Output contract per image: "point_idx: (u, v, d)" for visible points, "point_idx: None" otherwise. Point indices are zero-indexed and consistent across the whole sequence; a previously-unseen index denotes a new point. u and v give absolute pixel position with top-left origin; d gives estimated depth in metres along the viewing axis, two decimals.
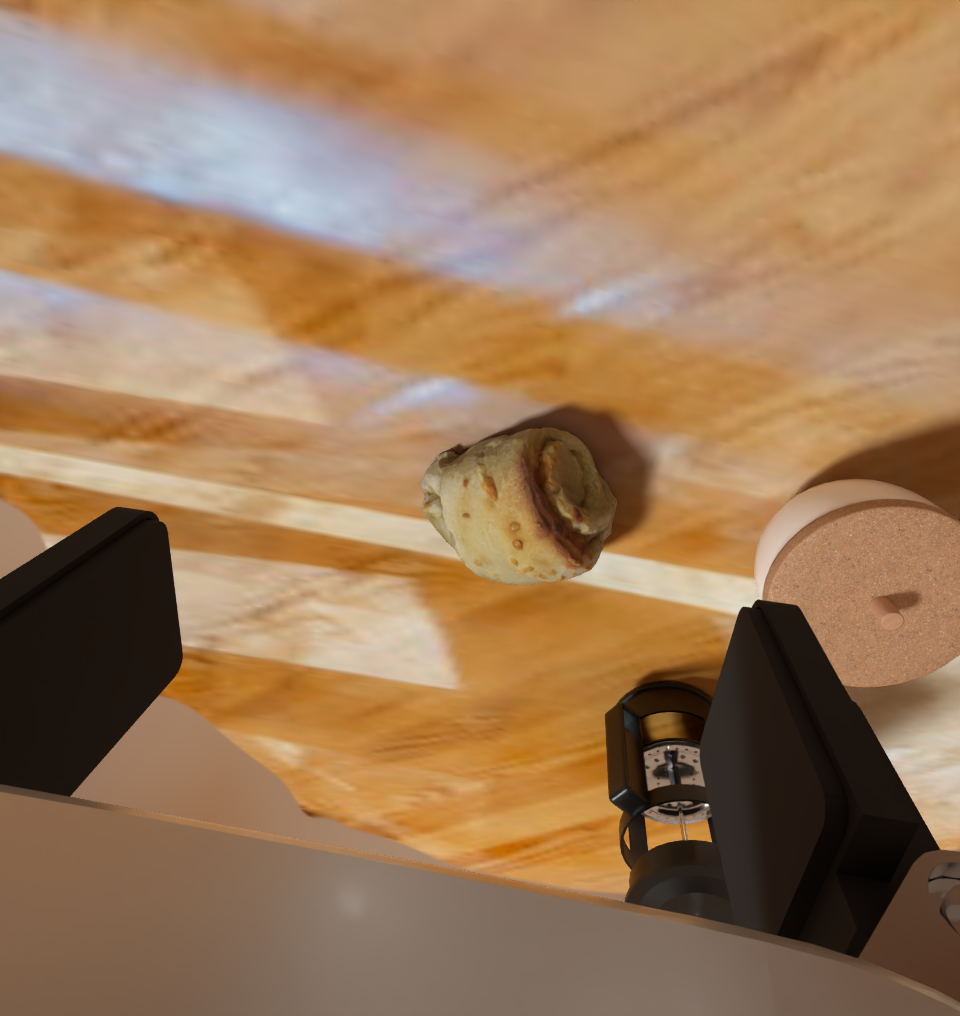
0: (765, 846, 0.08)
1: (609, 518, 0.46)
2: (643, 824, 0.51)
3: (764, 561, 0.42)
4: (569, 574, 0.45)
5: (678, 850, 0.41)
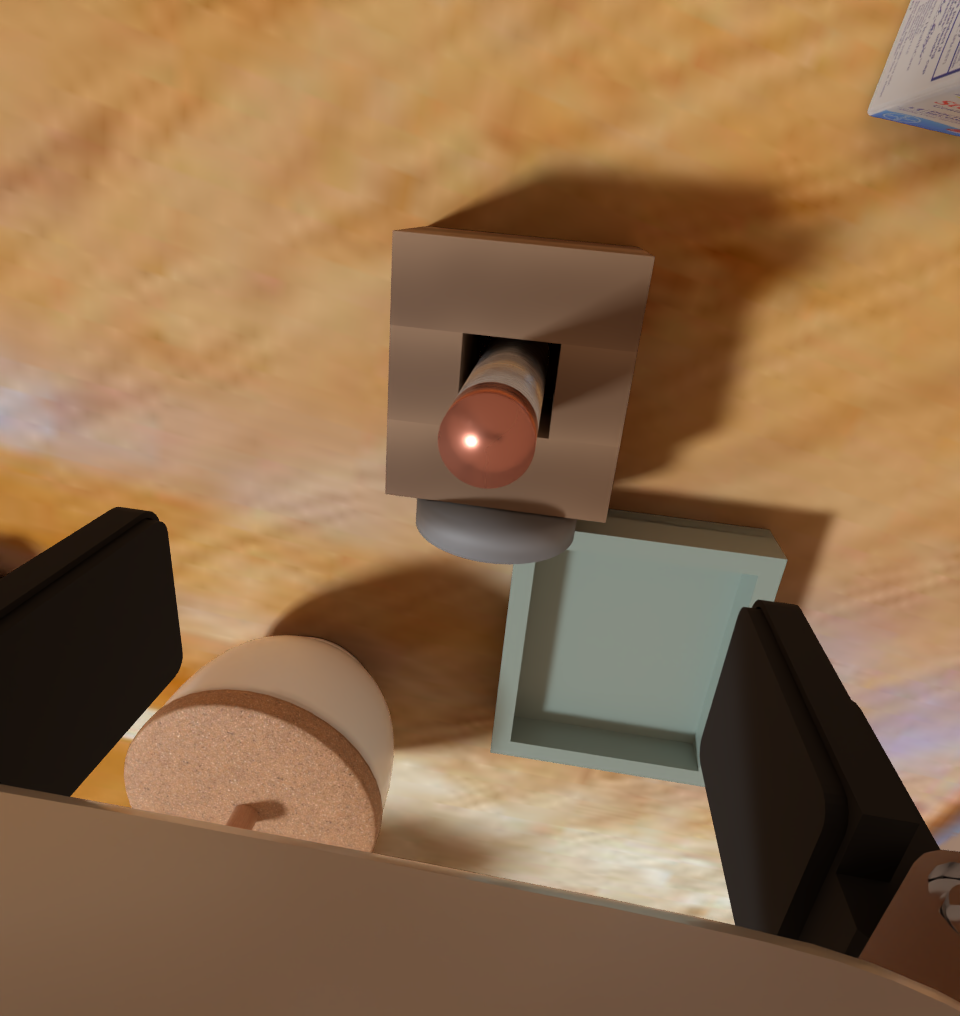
0: (764, 846, 0.08)
1: None
2: None
3: None
4: None
5: None
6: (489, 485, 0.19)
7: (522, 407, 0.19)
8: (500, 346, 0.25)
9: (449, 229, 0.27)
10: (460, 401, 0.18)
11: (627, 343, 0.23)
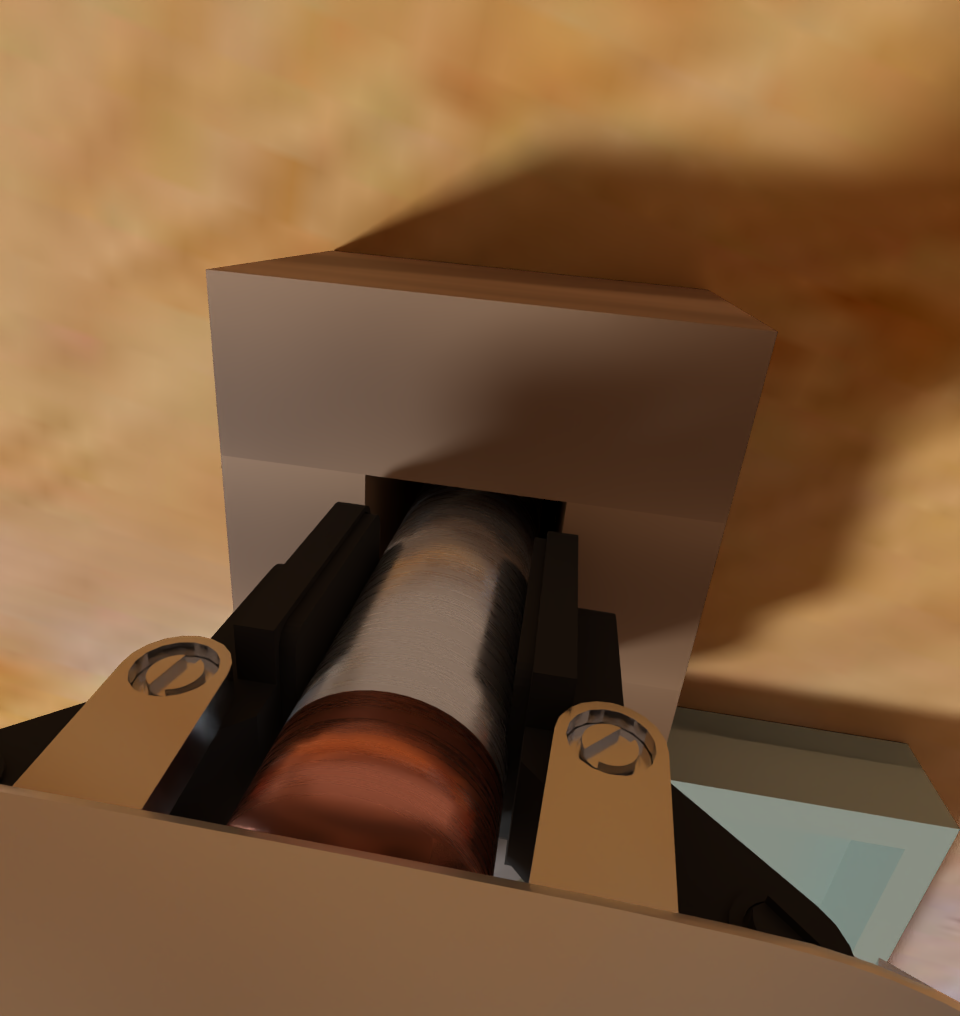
0: None
1: None
2: None
3: None
4: None
5: None
6: None
7: (447, 817, 0.06)
8: (446, 493, 0.13)
9: (366, 257, 0.15)
10: (260, 805, 0.06)
11: (706, 505, 0.11)
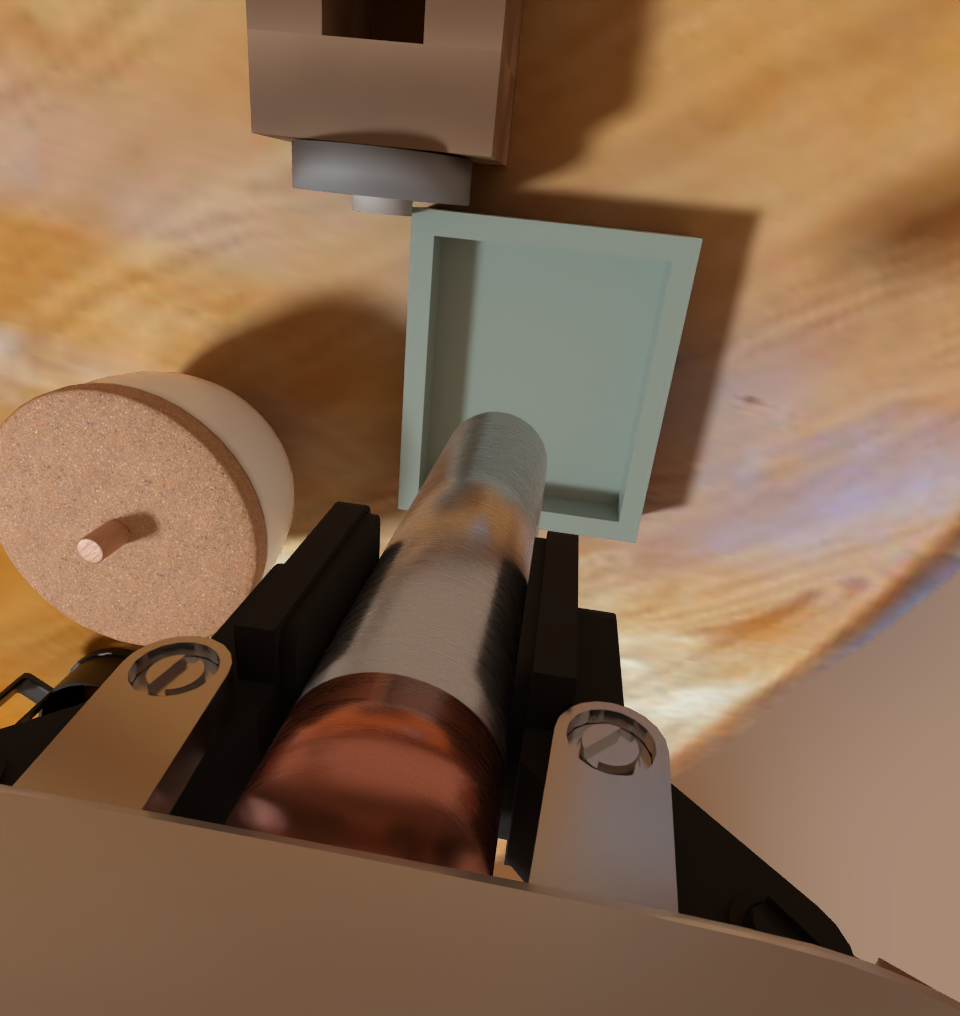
0: None
1: None
2: None
3: None
4: None
5: None
6: None
7: (451, 791, 0.06)
8: (447, 487, 0.13)
9: None
10: (271, 779, 0.06)
11: None
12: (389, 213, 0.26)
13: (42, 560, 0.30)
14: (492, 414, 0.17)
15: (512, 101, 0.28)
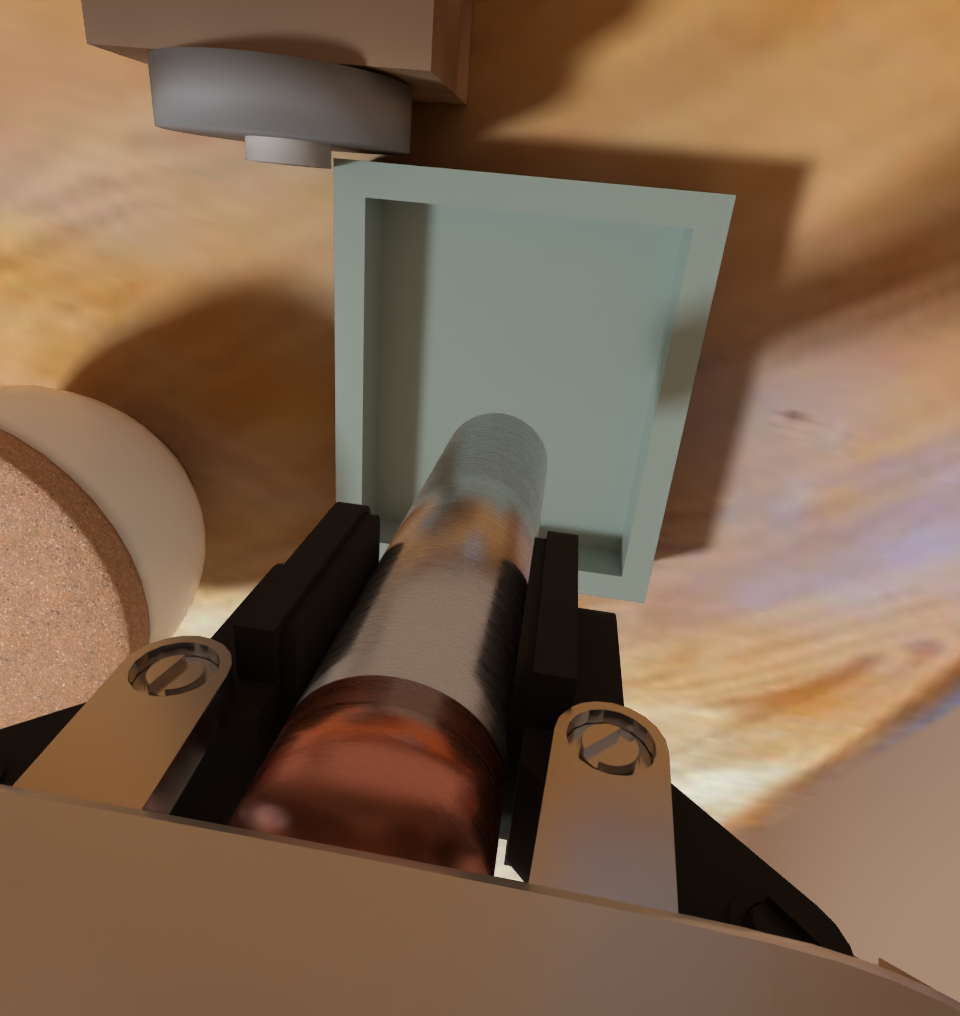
0: None
1: None
2: None
3: None
4: None
5: None
6: None
7: (452, 794, 0.06)
8: (448, 489, 0.13)
9: None
10: (271, 783, 0.06)
11: None
12: (294, 162, 0.18)
13: None
14: (492, 415, 0.17)
15: (470, 11, 0.20)
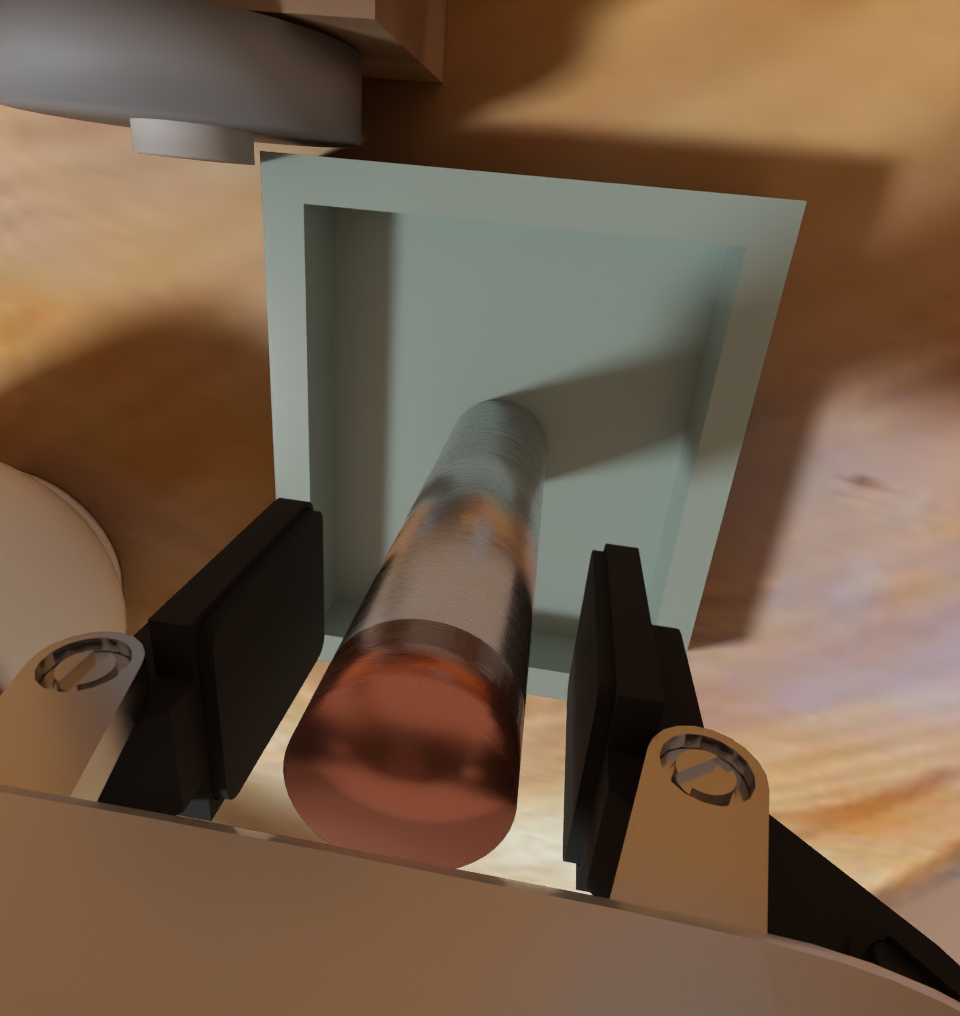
0: (578, 745, 0.09)
1: None
2: None
3: None
4: None
5: None
6: None
7: (484, 712, 0.08)
8: (459, 466, 0.14)
9: None
10: (329, 704, 0.07)
11: None
12: (195, 155, 0.13)
13: None
14: (495, 402, 0.18)
15: None
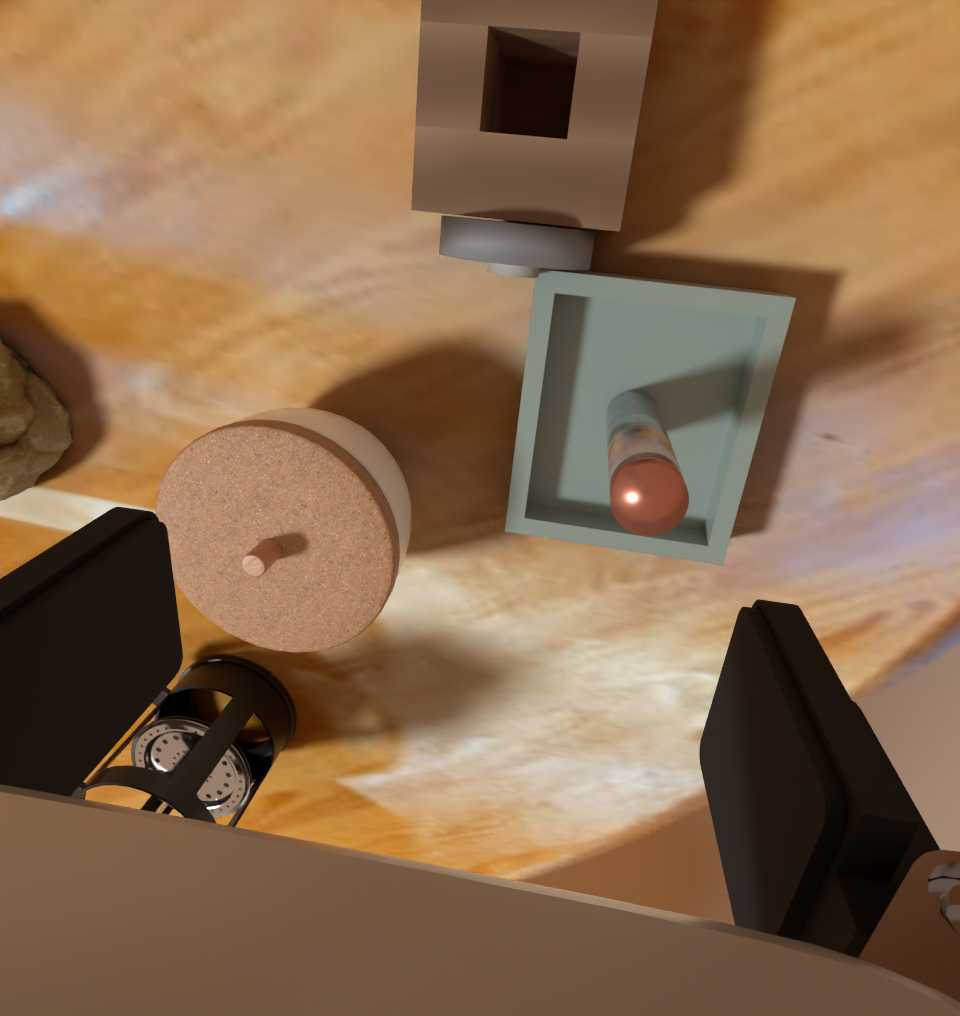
0: (765, 847, 0.08)
1: (17, 419, 0.39)
2: None
3: None
4: None
5: None
6: (648, 533, 0.25)
7: (679, 474, 0.24)
8: (633, 415, 0.30)
9: None
10: (631, 469, 0.24)
11: (643, 28, 0.25)
12: (522, 276, 0.30)
13: (199, 574, 0.34)
14: (633, 391, 0.35)
15: None
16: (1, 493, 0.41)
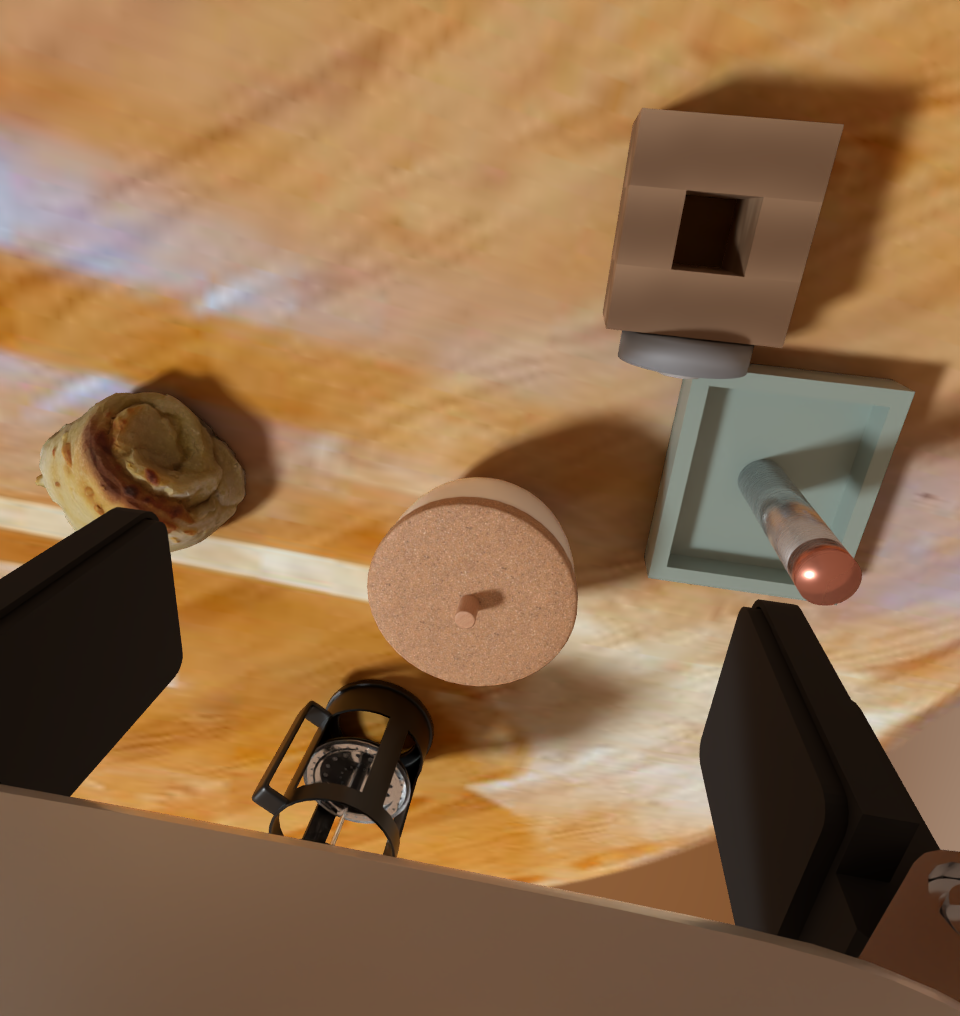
0: (764, 846, 0.08)
1: (212, 481, 0.45)
2: (330, 823, 0.51)
3: None
4: (169, 539, 0.44)
5: None
6: (825, 603, 0.31)
7: (853, 558, 0.30)
8: (782, 492, 0.37)
9: None
10: (817, 555, 0.30)
11: (815, 195, 0.31)
12: (692, 378, 0.36)
13: (403, 623, 0.40)
14: (764, 460, 0.41)
15: None
16: (193, 543, 0.46)
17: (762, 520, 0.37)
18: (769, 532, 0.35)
